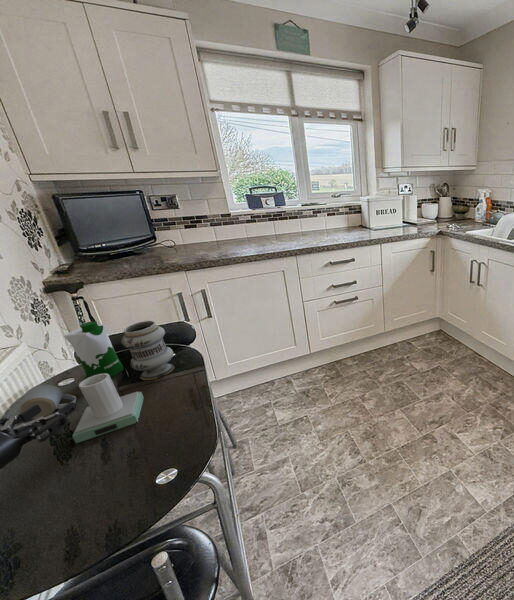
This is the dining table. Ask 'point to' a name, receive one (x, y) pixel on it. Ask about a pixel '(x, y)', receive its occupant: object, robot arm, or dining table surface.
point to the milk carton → (95, 349)
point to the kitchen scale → (109, 418)
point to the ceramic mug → (45, 399)
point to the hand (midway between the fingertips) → (56, 406)
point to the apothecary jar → (148, 349)
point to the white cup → (101, 395)
